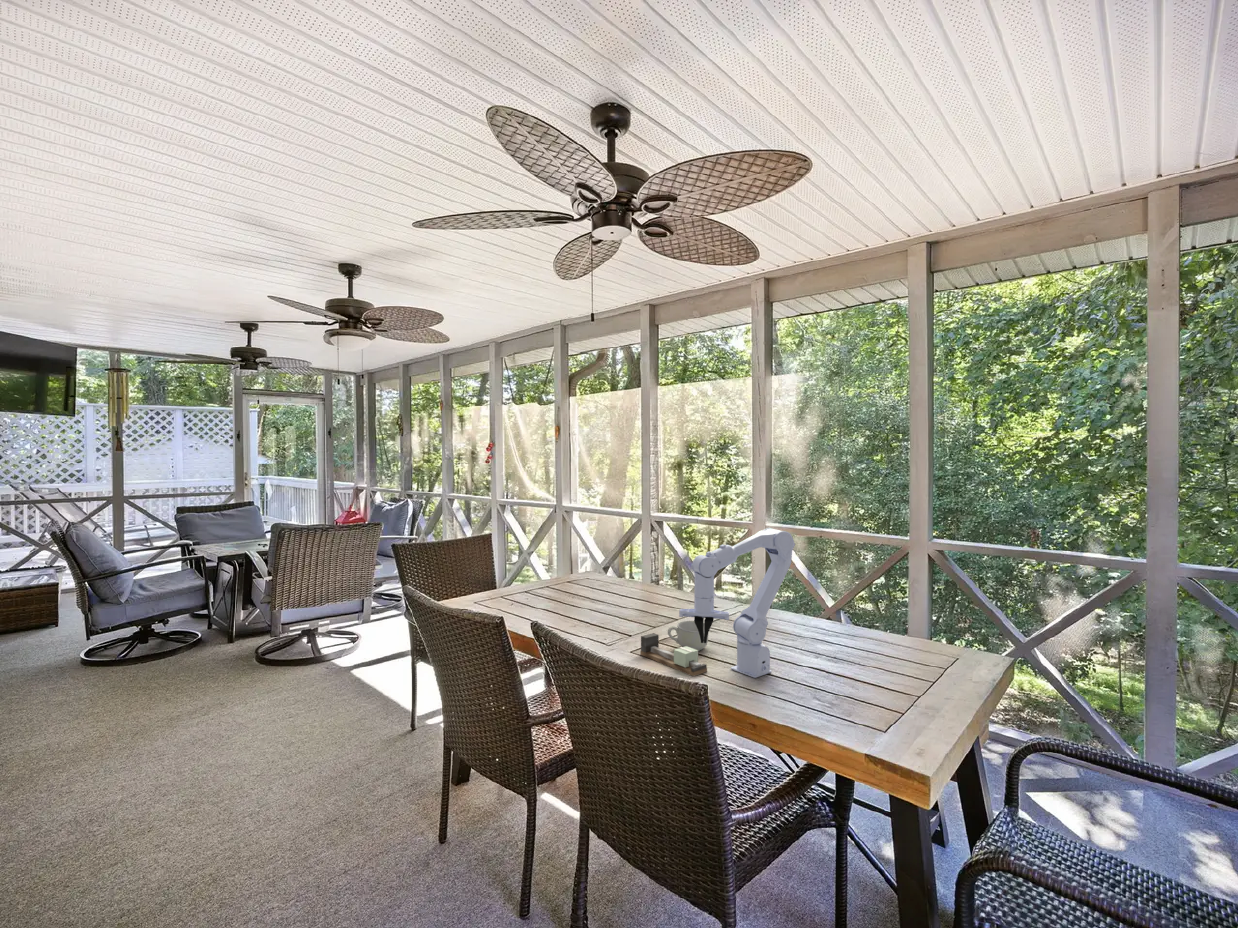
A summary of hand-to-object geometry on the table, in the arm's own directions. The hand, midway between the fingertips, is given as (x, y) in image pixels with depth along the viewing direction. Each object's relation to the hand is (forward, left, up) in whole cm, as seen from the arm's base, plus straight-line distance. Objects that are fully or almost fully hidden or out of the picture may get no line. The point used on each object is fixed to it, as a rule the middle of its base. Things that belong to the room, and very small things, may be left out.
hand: (703, 642), depth 172 cm
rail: (+14, 0, -10) cm, 17 cm away
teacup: (+21, -14, -10) cm, 27 cm away
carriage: (+7, 0, -8) cm, 11 cm away
